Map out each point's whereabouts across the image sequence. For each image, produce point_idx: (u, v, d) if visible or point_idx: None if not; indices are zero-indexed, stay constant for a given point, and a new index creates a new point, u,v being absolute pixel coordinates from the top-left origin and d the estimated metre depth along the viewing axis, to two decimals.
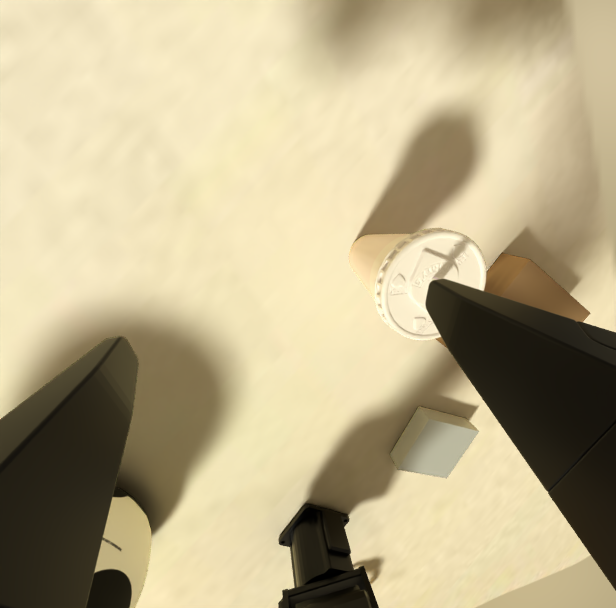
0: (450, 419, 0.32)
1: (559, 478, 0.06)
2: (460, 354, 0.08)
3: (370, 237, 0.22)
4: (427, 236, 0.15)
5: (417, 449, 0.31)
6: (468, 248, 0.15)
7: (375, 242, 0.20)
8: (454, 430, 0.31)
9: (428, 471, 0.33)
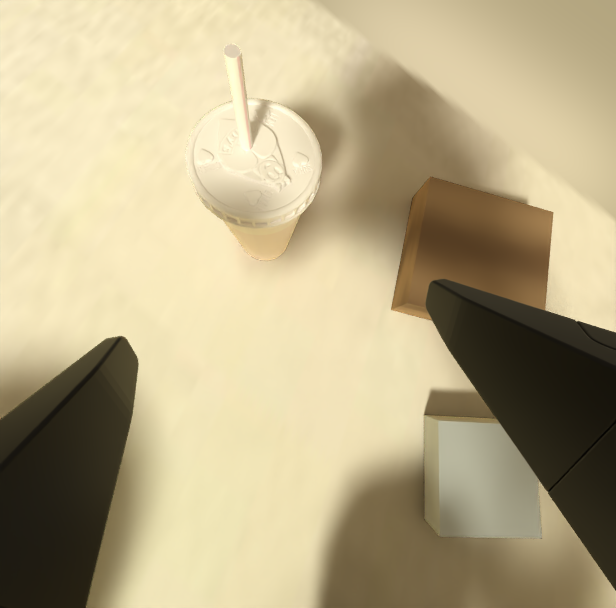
0: (479, 420, 0.21)
1: (559, 479, 0.06)
2: (460, 354, 0.08)
3: None
4: (218, 108, 0.14)
5: (450, 484, 0.19)
6: (273, 109, 0.14)
7: None
8: (492, 432, 0.20)
9: (497, 529, 0.19)
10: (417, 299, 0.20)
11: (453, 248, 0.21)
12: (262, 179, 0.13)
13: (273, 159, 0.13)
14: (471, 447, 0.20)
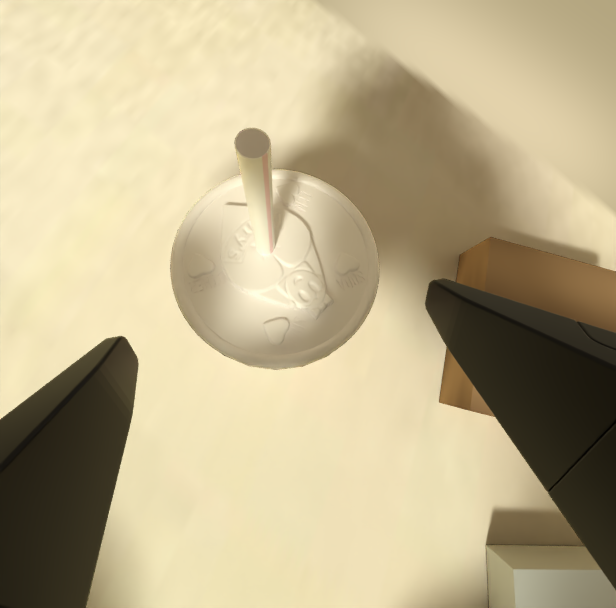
0: (562, 557, 0.16)
1: (559, 478, 0.06)
2: (460, 354, 0.08)
3: None
4: (222, 186, 0.09)
5: None
6: (304, 185, 0.09)
7: None
8: (583, 583, 0.15)
9: None
10: (482, 405, 0.15)
11: None
12: (290, 302, 0.08)
13: (307, 268, 0.09)
14: (558, 606, 0.15)
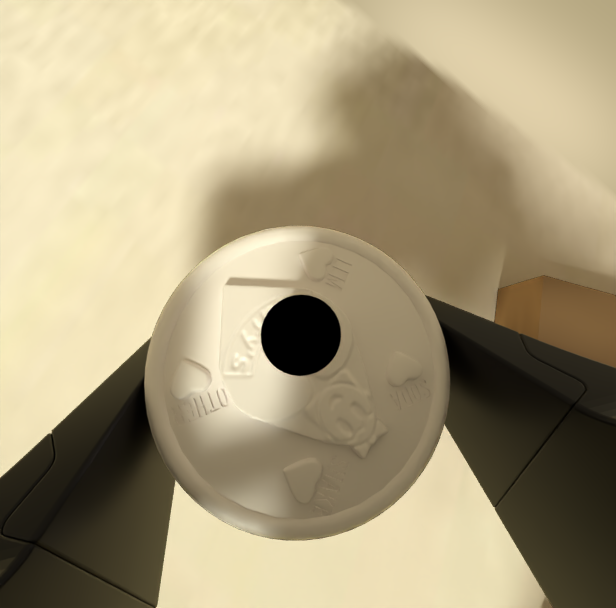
0: None
1: (503, 495, 0.06)
2: None
3: None
4: (221, 254, 0.06)
5: None
6: (339, 249, 0.06)
7: None
8: None
9: None
10: None
11: None
12: (325, 435, 0.06)
13: (348, 381, 0.06)
14: None
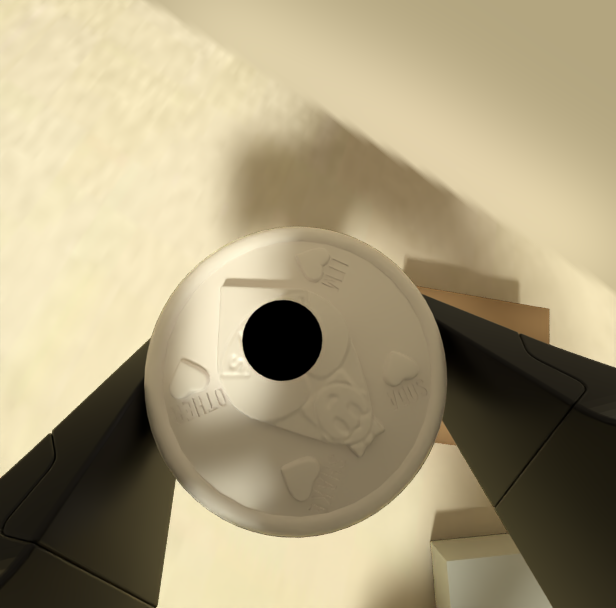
0: (489, 546, 0.20)
1: (502, 495, 0.06)
2: None
3: None
4: (219, 256, 0.06)
5: None
6: (336, 250, 0.06)
7: None
8: (504, 566, 0.19)
9: None
10: None
11: None
12: (321, 435, 0.06)
13: (344, 381, 0.06)
14: (484, 586, 0.18)
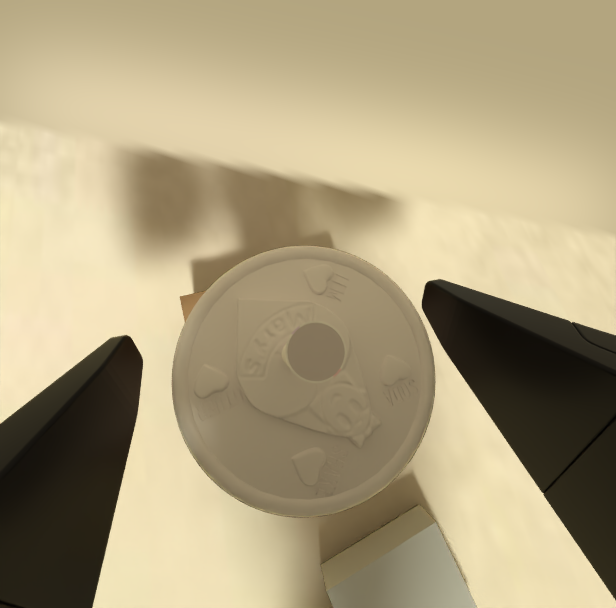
0: (379, 543, 0.17)
1: (554, 480, 0.06)
2: (456, 355, 0.08)
3: None
4: (236, 272, 0.07)
5: None
6: (338, 266, 0.07)
7: None
8: (393, 563, 0.16)
9: None
10: None
11: None
12: (327, 428, 0.07)
13: (346, 381, 0.07)
14: (377, 597, 0.16)
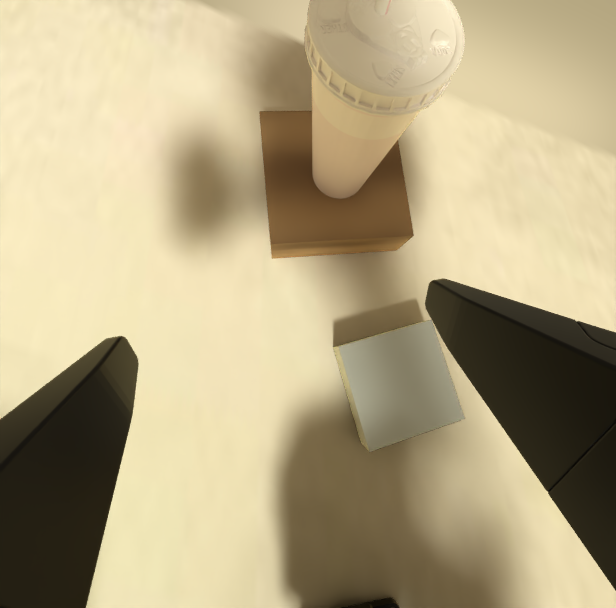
0: (383, 333, 0.21)
1: (559, 478, 0.06)
2: (460, 354, 0.08)
3: None
4: None
5: (366, 400, 0.19)
6: None
7: None
8: (393, 340, 0.20)
9: (421, 425, 0.19)
10: (280, 237, 0.19)
11: (302, 176, 0.20)
12: (395, 50, 0.11)
13: (410, 30, 0.11)
14: (377, 360, 0.20)
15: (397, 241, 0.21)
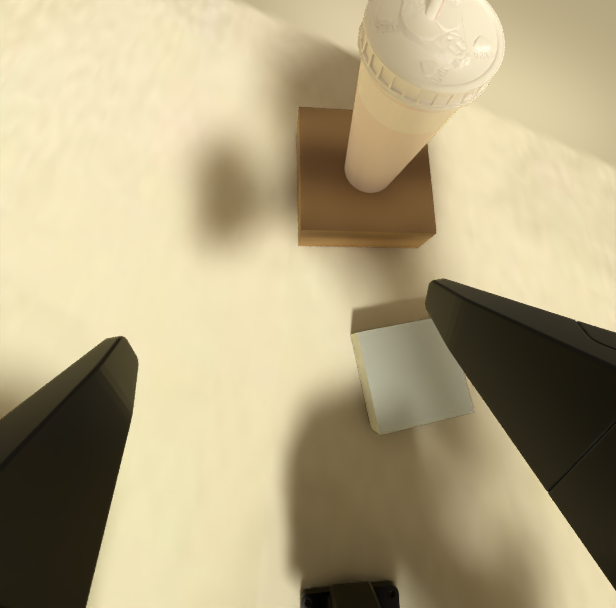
0: None
1: (559, 479, 0.06)
2: (460, 354, 0.08)
3: None
4: None
5: (380, 386, 0.20)
6: None
7: None
8: (410, 330, 0.21)
9: (431, 414, 0.20)
10: (310, 224, 0.21)
11: (335, 169, 0.22)
12: (442, 51, 0.12)
13: (457, 34, 0.12)
14: (393, 348, 0.21)
15: (420, 238, 0.22)
